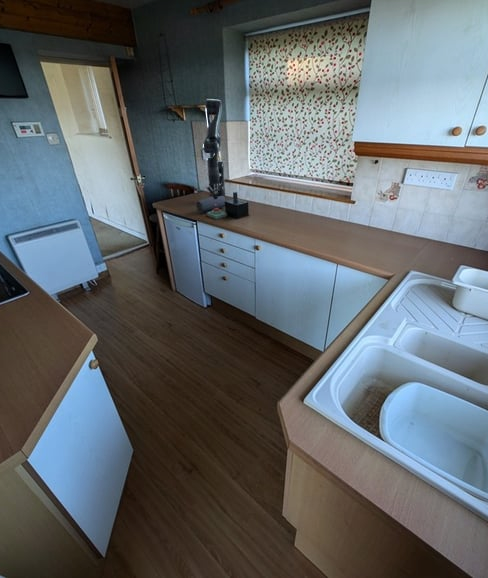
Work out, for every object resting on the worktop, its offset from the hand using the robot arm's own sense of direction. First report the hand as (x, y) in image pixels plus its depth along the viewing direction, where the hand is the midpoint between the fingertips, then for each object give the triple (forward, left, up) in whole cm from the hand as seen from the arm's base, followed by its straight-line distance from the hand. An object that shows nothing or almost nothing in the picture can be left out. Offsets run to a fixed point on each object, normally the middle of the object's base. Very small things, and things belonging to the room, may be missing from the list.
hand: (215, 199), depth 211 cm
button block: (0, 0, -12) cm, 12 cm away
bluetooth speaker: (-13, +5, -13) cm, 19 cm away
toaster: (+9, +12, -12) cm, 19 cm away
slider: (+4, +15, -2) cm, 16 cm away
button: (0, 0, -9) cm, 9 cm away
